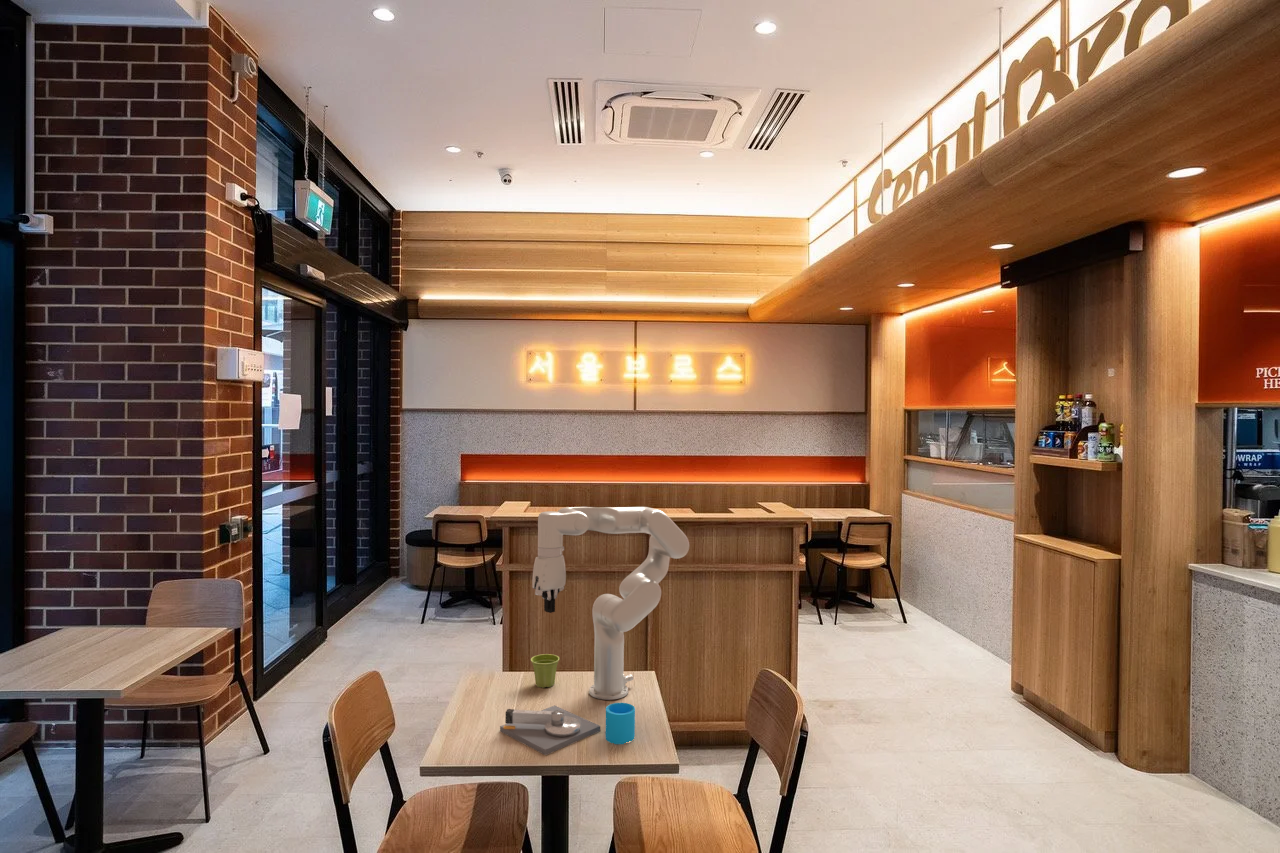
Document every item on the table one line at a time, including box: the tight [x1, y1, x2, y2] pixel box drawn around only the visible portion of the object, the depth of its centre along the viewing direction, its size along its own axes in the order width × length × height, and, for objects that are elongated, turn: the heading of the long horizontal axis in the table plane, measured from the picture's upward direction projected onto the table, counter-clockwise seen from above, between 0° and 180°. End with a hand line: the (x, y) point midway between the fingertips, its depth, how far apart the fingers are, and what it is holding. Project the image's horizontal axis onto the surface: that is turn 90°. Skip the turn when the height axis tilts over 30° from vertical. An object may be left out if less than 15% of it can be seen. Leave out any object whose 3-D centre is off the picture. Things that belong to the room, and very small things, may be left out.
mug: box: [604, 702, 636, 745], centre depth 198 cm, size 12×8×8 cm
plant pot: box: [530, 653, 560, 689], centre depth 234 cm, size 9×9×9 cm
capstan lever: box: [505, 708, 581, 737], centre depth 198 cm, size 10×21×5 cm, turn 86°
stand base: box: [499, 705, 601, 756], centre depth 199 cm, size 20×20×2 cm
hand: (549, 611), depth 216 cm, fingers closed
